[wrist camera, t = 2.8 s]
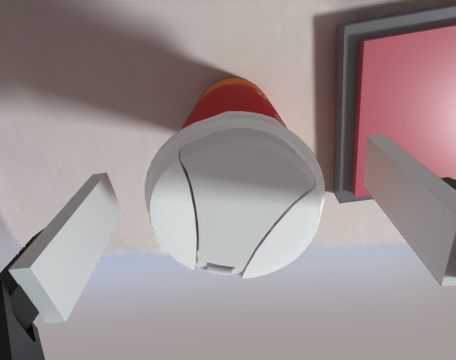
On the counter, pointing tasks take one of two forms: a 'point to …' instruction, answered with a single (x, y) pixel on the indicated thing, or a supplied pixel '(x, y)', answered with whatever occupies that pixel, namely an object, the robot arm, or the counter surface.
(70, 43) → the counter surface
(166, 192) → the paper cup
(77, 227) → the robot arm
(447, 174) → the ink pad
